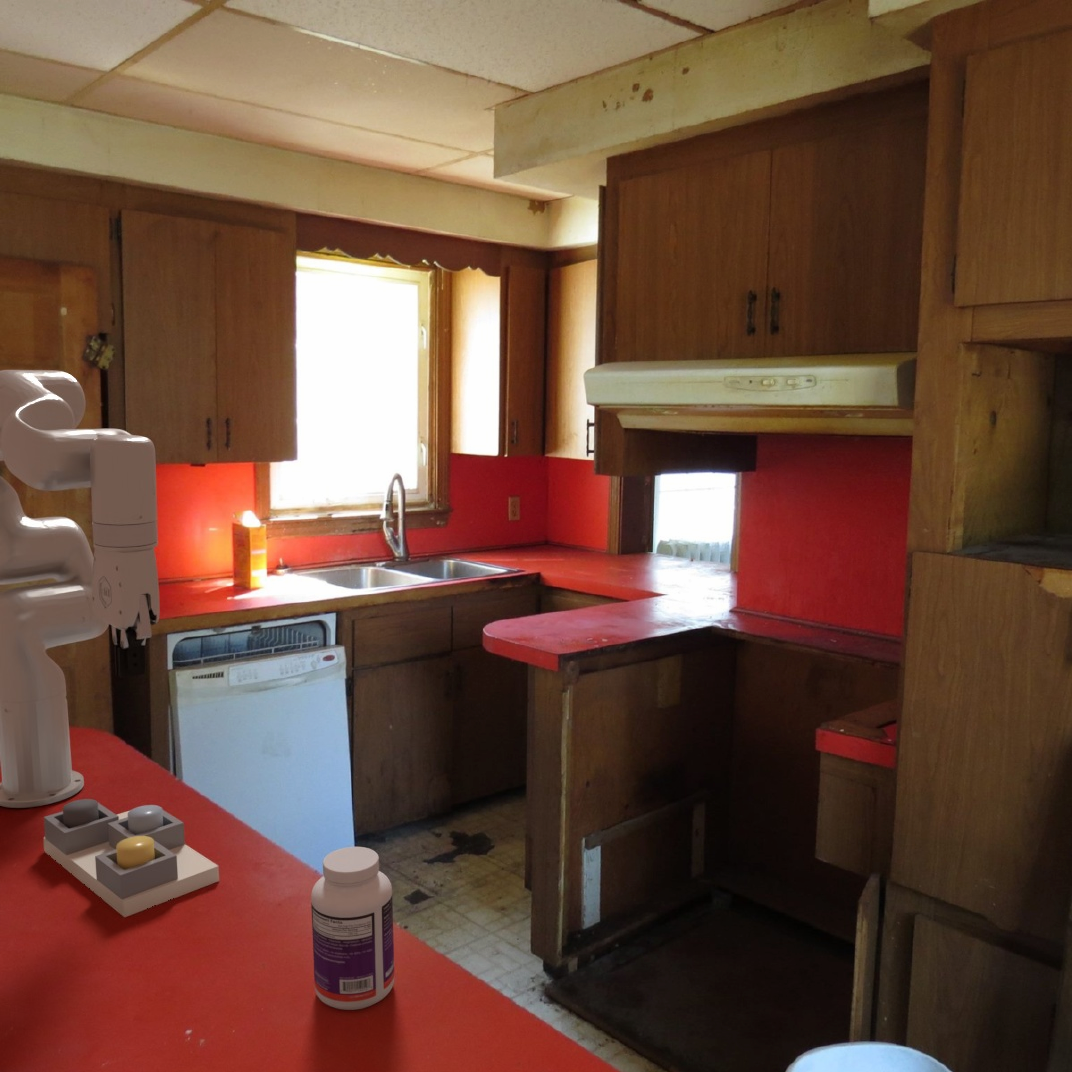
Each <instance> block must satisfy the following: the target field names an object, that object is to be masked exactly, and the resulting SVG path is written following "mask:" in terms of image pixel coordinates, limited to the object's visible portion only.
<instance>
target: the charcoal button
mask: <svg viewBox="0 0 1072 1072" xmlns="http://www.w3.org/2000/svg"><path fill="white" fill-rule="evenodd" d="M98 803H99V802H98V801H97V800H95V799H92V798H83V799H82V798H81V799H76V800H73V801H70V802H68V803H66V804H64V805H63V806H62V811H63V819H64V825H65V826H66V827H68V828H69V829H70V828H73V827H76V826H79V825H83V824H86V823H89V822H92V821H96V820H99V814H98Z"/></svg>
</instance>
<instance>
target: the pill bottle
mask: <svg viewBox="0 0 1072 1072" xmlns="http://www.w3.org/2000/svg"><path fill="white" fill-rule="evenodd" d="M322 873H323V875H322V876H321V877H320V878H319V879H318V880H317V881H316V882H315V883H314V885H313V887H312V890H311V895H310V903H311V925H312V927H311V929H312V950H313V955H312V956H313V977H314V978H313V979H314V980H313V981H314V982H313V983H314V991H315V993H316V995H317V998H319V1000H320V1001H321V1002H322V1003H324V1004H325V1005H327V1006H329V1007H332V1008H334V1009H338V1010H347V1011H349V1010H350V1011H351V1010H352V1011H354V1010H362V1009H365V1008H367V1007H368V1008H369V1007H370V1006H373V1005H374V1004H376V1003H378V1002H380V1001H382V1000H383V999H384V998H385V997H386V996H388V994H389V993H390V992H391V990H392V988H393V986H394V983H395V954H394V953H395V950H394V949H395V943H394V941H395V940H394V913H393V909H394V908H393V907H394V906H393V904H394V903H393V886H392V883H391V881H390V878H388V876H387V875H386V874H385V873H383V872H382V871H380V857H379V854H378V853H377V852H376V851H375V850H374V849H372V848H369V847H363V846H348V847H341V848H339V849H335V850H333V851H331V852H329V853H327V855H325V857H324V858H323V861H322Z"/></svg>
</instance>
